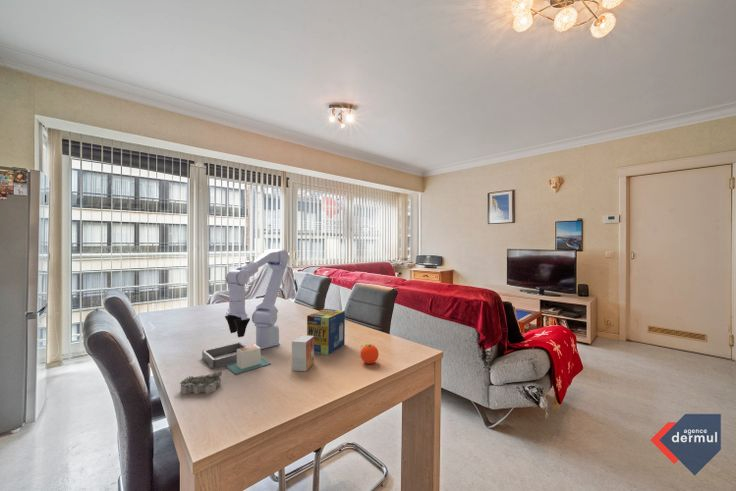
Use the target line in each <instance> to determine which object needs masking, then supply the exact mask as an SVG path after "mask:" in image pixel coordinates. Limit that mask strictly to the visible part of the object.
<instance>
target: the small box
mask: <svg viewBox="0 0 736 491" xmlns="http://www.w3.org/2000/svg"><path fill="white" fill-rule="evenodd" d="M314 364H315V353H314V336H307V334H305V335H302V334H300V336H298V337H297V338H295V339H294V340H292V341H291V370H292V371H295V372H296V371H298V372H307V371H308V369H310V368H311V367H312V366H313V365H314Z"/></svg>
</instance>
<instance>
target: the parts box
mask: <svg viewBox="0 0 736 491" xmlns="http://www.w3.org/2000/svg"><path fill="white" fill-rule="evenodd" d="M236 354H237V362H236V363H237V366H238V367H239V368H241V369H243V368H247V367H251V366H254V365H258V364H260V357H261V349H260V347H258V346H257V345H252V344H251V345H249V346H247V347H244V348H240V349H237V351H236Z"/></svg>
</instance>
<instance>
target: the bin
mask: <svg viewBox="0 0 736 491" xmlns="http://www.w3.org/2000/svg"><path fill="white" fill-rule="evenodd" d="M244 347H248V346H247V345H245V343H242V342H235V343H232V344H226V345H221V346H218V347H214V348H213V347H212V348H208V349H203V350H202V351H201V352H202V353H201V354H202V356H201V357H202V359H203V360H204V362H206V363H207V364H208V365H209V366H210V367H211V368H212V369H213V370H214V369H217V368H220V367H224V366H225V367H226V366H228V365H231V364H235V363H237V353H234V354H230V355H227V356H222V357H217V358H215V357H216V356H220V355H224V354H229V353H232V352H237V349H240V348H244Z"/></svg>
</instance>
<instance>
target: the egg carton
mask: <svg viewBox="0 0 736 491" xmlns="http://www.w3.org/2000/svg"><path fill="white" fill-rule="evenodd" d="M222 375H223V372H222V371H216V372H213V373H210V374H207V375H206V374H205V375H204V374H203V375H198V376H195V377H194V376H188V377H186V378H184V379H183V380H181V382H179V384H180V393H182V395H187V394H189V393H193V394H194V395H196V394H197V395H198V394H199V393H203V392H204V394H211V393H213V392H216V390H217V388H218V387H220V386H221V385H222V383H221V382H222V380H221V376H222Z"/></svg>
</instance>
